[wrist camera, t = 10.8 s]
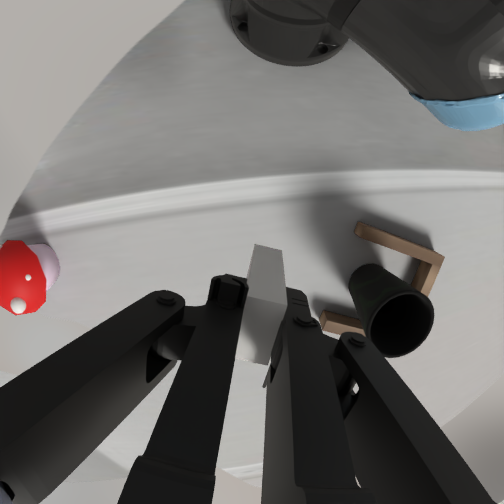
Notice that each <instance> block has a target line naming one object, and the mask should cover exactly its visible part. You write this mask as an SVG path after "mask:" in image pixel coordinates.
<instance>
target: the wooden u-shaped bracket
mask: <svg viewBox="0 0 504 504" xmlns="http://www.w3.org/2000/svg"><path fill="white" fill-rule="evenodd" d="M354 233H355V234H357V235H358V236H359V237H360V238H363V239H365V240H368V241H371V242H374V243H377V244H379V245H382V246H385V247H388V248H390V249H393V250H396V251H398V252H401V253H404V254H407V255H409V256H412V257H414V258H417V259H420V260H421V262H420V265H419V267H418V270H417V272H416V274H415V277H414V279H413V281H412V284H411V286H412V287H414V288H415V289H417V290H418V291H420V292H421V293H423V294H424V295H426V296H427V297H428V295H429V293H430V291H431V288H432V286H433V284H434V282H435V279H436V277H437V275H438V272H439V270H440V268H441V265H442V263H443V260H444V258H445V257H444V256H442V255H441V254H439V253H437V252H435V251H433V250H431V249H429V248H426V247H424V246H421V245H419V244H416V243H414V242H411V241H409V240H406V239H404V238H401V237H399V236H396V235H393V234H391V233H388V232H386V231H383V230H380V229H378V228H375V227H372V226H370V225H367V224H364V223H361V222H359V221H358V223H357V226H356V228H355V231H354ZM319 321H320V324H321V327H322V330H323V331H327V332H331V333H335V334H339V335H341V334H342V333H344V332H357V333H360V334H362V335H363V336H365V333H364V330H363V327H362V324H361V322H360V320H359V319H355V318H351V317H348V316H344V315H340V314H336V313H333V312H329V311H325V310H323V312H322V314H321V316H320V319H319ZM365 337H366V336H365Z"/></svg>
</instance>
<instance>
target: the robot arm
mask: <svg viewBox="0 0 504 504" xmlns="http://www.w3.org/2000/svg"><path fill="white" fill-rule="evenodd" d="M230 17H231V21H232V26H233V29H234V31H235V34H236V35H237V37H238V39H239V40H240V41H241V43H242V44H243V45H244V46H245V47H246V48H247V49H248V50H250V51H251V52H252V53H254V54H255V55H257V56H259V57H261V58H263V59H265V60H267V61H270V62H273V63H276V64H280V65H286V66H308V65H314V64H318V63H321V62H323V61H326V60H328V59H330V58H331V57H333V56H334V55H336V54H337V53H338V52H339V51H340V50H341V49H342V48H343V47H344V45H345V44H346V42H347V41H348V39H349V38H350V39H351V40H352V41H354V42H355V43H356V44H357V45H359V46H360V47H361V48H362V49H364V50H365V51H366V52H367V53H368V54H369V55H371V56H372V57H373V58H374V59H375V60H376V61H378V62H379V63H380V64H381V65H382V66H383V67H384V68H385V69H386V70H387V71H389V72H390V73H391V74H392V75H393V76H394V77H395V78H396V79H397V80H398V81H399V82H400V83H401V84H402V85H403V86H404V87H405V88H406V89H407V90H408V91H409V94H410V95H411V96H412V97H413V98H414V99H415V100H417V101H419V102H421V103H422V104H423V105H424V106H425V107H426V108H427V109H428V110H429V111H430V112H431V113H432V114H433V115H434V116H435V117H436V118H437V119H438V120H439V121H440V122H442V123H443V124H444V125H446V126H448V127H450V128H454V129H459V130H462V131H479V130H485V129H489V128H493V127H496V126H499V125H501V124H504V0H231V5H230ZM270 357H271V364H270V367H269V370H268V372H267V375H266V378H265V381H264V384H263V388H265V387H266V385H267V394H266V418H265V440H264V460H263V479H262V497H261V504H497V503H495V502H494V501H493V500H492V499H491V497H490V496H489V494H488V493H487V491H486V490H485V489H484V487H483V486H482V484H481V483H480V481H479V480H478V479H477V477H476V476H475V475H474V473H473V472H472V470H471V469H470V468H469V466H468V465H467V464H466V462H465V461H464V459H463V458H462V457H461V455H460V454H459V453H458V451H457V450H456V449H455V447H454V446H453V445H452V443H451V442H450V441H449V440H448V438H447V437H446V435H445V434H444V433H443V431H442V430H441V429H440V427H439V426H438V425H437V423H436V422H435V421H434V420H433V418H432V417H431V416H430V414H429V413H428V412H427V410H426V409H425V408H424V407H423V405H422V404H421V403H420V401H419V400H418V399H417V398H416V396H415V395H414V394H413V393H412V391H411V390H410V389H409V387H408V386H407V385H406V384H405V382H404V381H403V380H402V379H401V377H400V376H399V375H398V374H397V372H396V371H395V370H394V369H393V367H392V366H391V365H390V364H389V362H388V361H387V360H386V359H385V358H384V356H383V355H382V354H381V353H380V351H379V350H378V349H377V348H376V346H375V345H374V344H373V343H372V342H371V341H370V340H369V339H368V338H367V337H365V336H363V335H362V334H360V333H357V332H344V333H342V334H341V336H340V338H339V340H338V339H335V338H332V337H329V336H327V335H325V334H323V333H322V329H321V325H320V323H319V322H318V321H317V320H316V319H315V318H313V317H311V313H310V309H309V305H308V300H307V296H306V295H305V294H304V293H303V292H302V291H301V290H297V289H292V288H288V287H286V285H285V275H284V266H283V257H282V250H278V249H273V248H269V247H265V246H261V245H257V244H255V246H254V250H253V254H252V258H251V262H250V266H249V270H248V274H247V278H242V277H238V276H234V275H230V274H225V275H219V276H215V277H213V278H212V280H211V285H210V290H209V295H208V300H207V302H206V305H203V306H185V299H184V298H183V297H182V296H180V295H179V294H177V293H174V292H172V291H168V290H167V291H166V290H160V291H154V292H151V293H150V294H148V295H146V296H145V297H143V298H141V299H140V300H138V301H136V302H135V303H133V304H132V305H130V306H128V307H127V308H125V309H123V310H122V311H120V312H119V313H117V314H115V315H114V316H112V317H110V318H109V319H107V320H106V321H104V322H102V323H101V324H99V325H98V326H96V327H94V328H93V329H91V330H90V331H88V332H86V333H85V334H83V335H82V336H80V337H78V338H77V339H75V340H74V341H72V342H70V343H69V344H67V345H66V346H64V347H63V348H61V349H59V350H58V351H56V352H55V353H53V354H51V355H50V356H48V357H47V358H45V359H44V360H42V361H41V362H39V363H37V364H36V365H34V366H33V367H31V368H30V369H28V370H26V371H25V372H23V373H22V374H20V375H19V376H17V377H16V378H14V379H13V380H11V381H9V382H8V383H6V384H5V385H3V386H2V387H0V504H39V503H40V502H41V501H42V500H43V499H45V498H46V497H47V496H48V495H49V494H51V493H52V492H53V491H54V490H55V489H56V488H57V487H58V486H59V485H60V484H61V483H62V482H63V481H64V480H65V479H66V478H67V477H68V476H69V475H70V474H71V473H72V472H73V471H74V470H75V469H76V468H77V467H78V466H79V465H80V464H81V463H82V462H83V461H84V460H85V459H86V458H87V457H88V456H89V455H90V454H91V453H92V452H93V451H94V450H95V449H96V448H97V447H98V446H99V445H100V444H101V443H102V441H103V440H104V439H105V438H106V437H107V436H108V435H109V434H110V433H111V432H112V431H113V430H114V429H115V428H116V427H117V426H118V425H119V424H120V423H121V422H122V421H123V420H124V419H125V418H126V417H127V416H128V415H129V414H130V413H131V412H132V411H133V410H134V408H135V407H136V406H137V405H138V404H139V403H140V402H141V401H142V400H143V399H144V398H145V397H146V396H147V395H148V394H149V393H150V392H151V391H152V390H153V389H154V388H155V386H156V385H157V384H158V383H159V382H160V381H161V380H162V379H163V378H164V377H165V376H166V375H167V374H168V373H169V372H170V371H171V370H172V368H173V367H174V366H175V365H176V363H177V360H182V361H181V364H180V366H179V369H178V371H177V373H176V376H175V378H174V381H173V383H172V386H171V388H170V390H169V393H168V395H167V398H166V400H165V403H164V405H163V408H162V410H161V413H160V415H159V418H158V420H157V422H156V425H155V427H154V430H153V433H152V435H151V438H150V440H149V443H148V445H147V448H146V450H145V452H144V454H143V455H142V456H138V457H137V458H136V460H135V462H134V464H133V466H132V468H131V470H130V473H129V475H128V478H127V481H126V483H125V485H124V488H123V490H122V493H121V495H120V498H119V500H118V503H117V504H212V498H213V493H214V486H215V477H216V476H215V468H216V463H217V457H218V451H219V446H220V440H221V435H222V429H223V423H224V418H225V412H226V407H227V401H228V395H229V390H230V384H231V378H232V373H233V367H234V361H235V358H236V359H240V360H245V361H249V362H254V363H259V364H263V365H268V363H269V360H270ZM356 383H357V384H358V387H359V390H358V392H357V393H356V394H355V393H354V391H353V387H354V386H355V384H356ZM355 476H356V478H357V480H358V482H359V484H360V486H361V488H360V487H359V486H358V485H357V482H356V479H355Z"/></svg>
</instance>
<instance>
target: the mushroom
mask: <svg viewBox="0 0 504 504" xmlns="http://www.w3.org/2000/svg"><path fill="white" fill-rule="evenodd" d="M59 273H60V265H59V260H58V258H57V255H56V253H55V252H54V251H53V249H52V248H51V247H50V246H48V245H46V244H34V245H26V244H25V243H24V242H23V241H16V240H7V241H6V242H5V243H4V244H3V245H1V244H0V306H2V307H3V308H5V309H6V310H8V311H9V312H11V313H13V314H14V315H21V314H27V313H32V312H36V311H37V310H38V309H39V308H40V307H41V306H42V305H43V304H44V303H45V302H46V291H47V290H48V289H49V288H50V287H51V286H52V285H53V284H54V283H55V281H56V280H57V278H58V277H59Z"/></svg>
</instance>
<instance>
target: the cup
mask: <svg viewBox="0 0 504 504" xmlns="http://www.w3.org/2000/svg"><path fill="white" fill-rule="evenodd" d="M349 290H350V294H351V296H352V299H353V302H354V305H355V307H356V310H357V313H358V316H359V319H360V322H361V324H362V327H363V330H364V333H365V336H366V337H367V338H368V339H369V340H370V341H371V342H372V343H373V344H374V345H375V346H376V348H377V349H378V350H379V351H380V353H381V354H382V355H383V356H384V357H387V358H395V357H400V356H404V355H406V354H408V353H410V352H412V351H414V350H415V349H416V348H417V347H419V346H420V345H421V344H422V343H423V342H424V340H425V339H426V338H427V336H428V334H429V333H430V331H431V328H432V325H433V321H434V308H433V305H432V303H431V301H430V300H429V298H428V297H427V296H426V295H424V294H423V293H421V292H420V291H418V290H417V289H415V288H414V287H412V286H411V285H409V284H407V283H406V282H404V281H403V280H401V279H400V278H398V277H396V276H395V275H393V274H392V273H390V272H388V271H387V270H385V269H384V268H382V267H380V266H379V265H376V264H366V265H363V266H361V267H359V268H358V269H357V270H355V272H354V273H353V274H352V276H351V278H350V282H349Z"/></svg>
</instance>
